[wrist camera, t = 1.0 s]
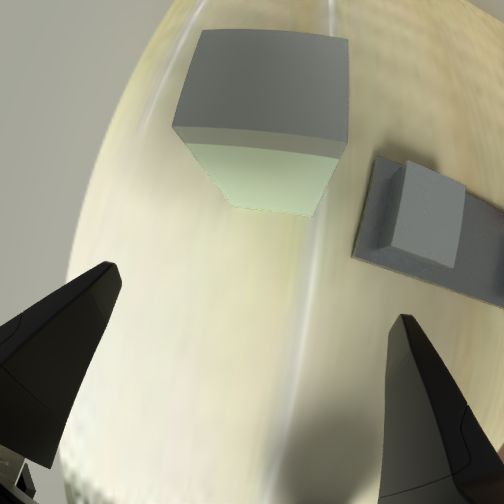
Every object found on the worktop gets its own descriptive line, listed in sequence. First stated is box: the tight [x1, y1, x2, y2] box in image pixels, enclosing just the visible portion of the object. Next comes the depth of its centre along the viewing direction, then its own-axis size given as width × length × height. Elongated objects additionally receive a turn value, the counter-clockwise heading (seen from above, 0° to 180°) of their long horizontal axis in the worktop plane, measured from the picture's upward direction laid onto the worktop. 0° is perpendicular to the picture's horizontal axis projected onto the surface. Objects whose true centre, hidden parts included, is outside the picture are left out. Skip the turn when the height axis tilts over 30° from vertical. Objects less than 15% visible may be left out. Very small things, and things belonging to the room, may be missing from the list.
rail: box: [351, 156, 504, 309], centre depth 18 cm, size 8×22×4 cm, turn 73°
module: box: [172, 29, 349, 217], centre depth 16 cm, size 5×6×13 cm
